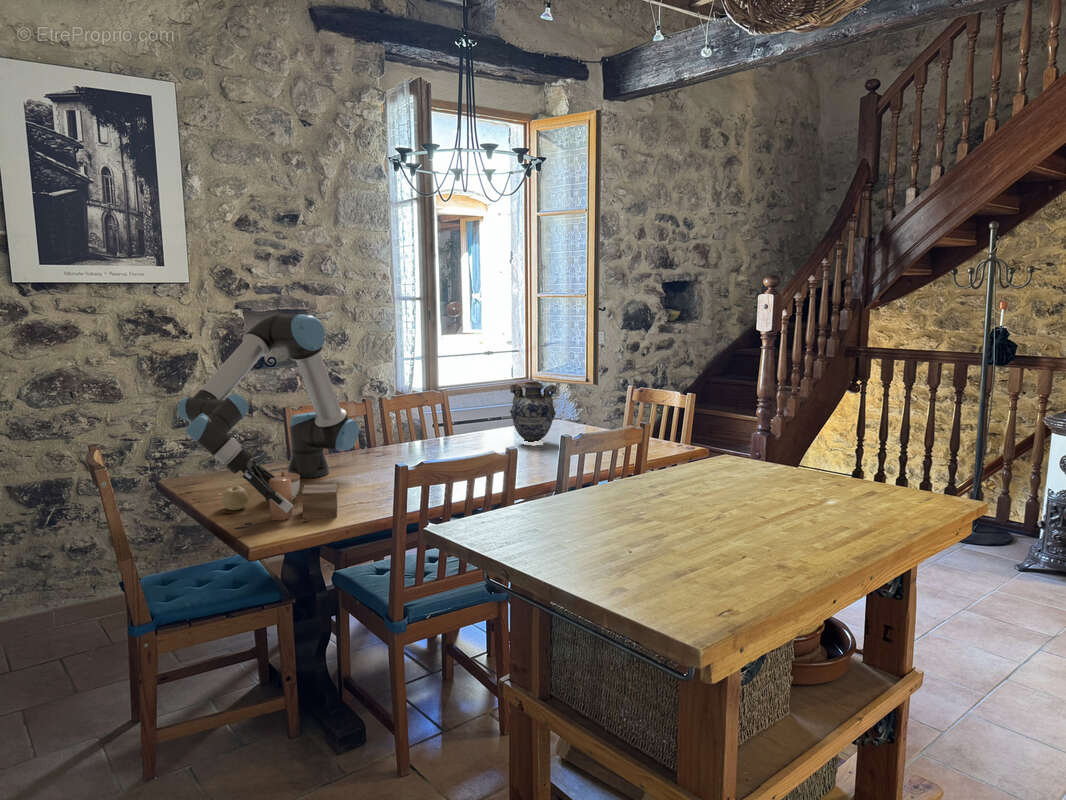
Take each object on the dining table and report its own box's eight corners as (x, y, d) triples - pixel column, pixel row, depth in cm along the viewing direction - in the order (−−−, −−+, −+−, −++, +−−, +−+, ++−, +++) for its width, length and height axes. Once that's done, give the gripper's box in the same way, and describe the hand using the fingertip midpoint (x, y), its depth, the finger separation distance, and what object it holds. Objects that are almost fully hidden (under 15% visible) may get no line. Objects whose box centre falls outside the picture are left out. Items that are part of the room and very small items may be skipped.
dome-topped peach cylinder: (271, 515, 232) (269, 477, 230) (293, 513, 234) (291, 476, 232) (269, 521, 226) (267, 482, 224) (291, 520, 228) (290, 481, 226)
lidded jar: (290, 504, 244) (289, 476, 242) (260, 502, 246) (259, 474, 244) (306, 495, 254) (305, 468, 253) (277, 493, 256) (276, 467, 255)
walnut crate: (304, 509, 238) (304, 485, 237) (337, 507, 240) (336, 483, 239) (302, 519, 229) (302, 493, 227) (336, 517, 231) (336, 491, 230)
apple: (249, 502, 245) (253, 485, 241) (241, 519, 238) (246, 501, 234) (224, 495, 243) (228, 478, 239) (216, 512, 236) (220, 494, 232)
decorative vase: (505, 446, 334) (506, 384, 330) (513, 439, 352) (514, 380, 349) (552, 449, 331) (554, 386, 327) (558, 441, 349) (559, 381, 345)
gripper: (230, 457, 235) (285, 503, 241) (218, 474, 213) (279, 524, 219) (247, 439, 235) (302, 486, 241) (237, 455, 214) (297, 505, 220)
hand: (291, 504), depth 230 cm, fingers open, 10 cm apart
